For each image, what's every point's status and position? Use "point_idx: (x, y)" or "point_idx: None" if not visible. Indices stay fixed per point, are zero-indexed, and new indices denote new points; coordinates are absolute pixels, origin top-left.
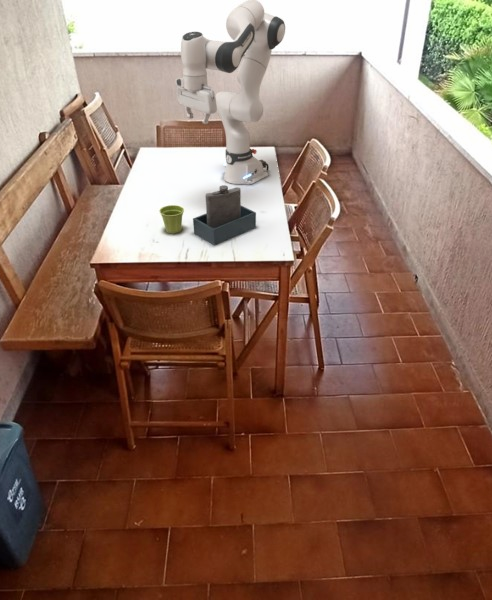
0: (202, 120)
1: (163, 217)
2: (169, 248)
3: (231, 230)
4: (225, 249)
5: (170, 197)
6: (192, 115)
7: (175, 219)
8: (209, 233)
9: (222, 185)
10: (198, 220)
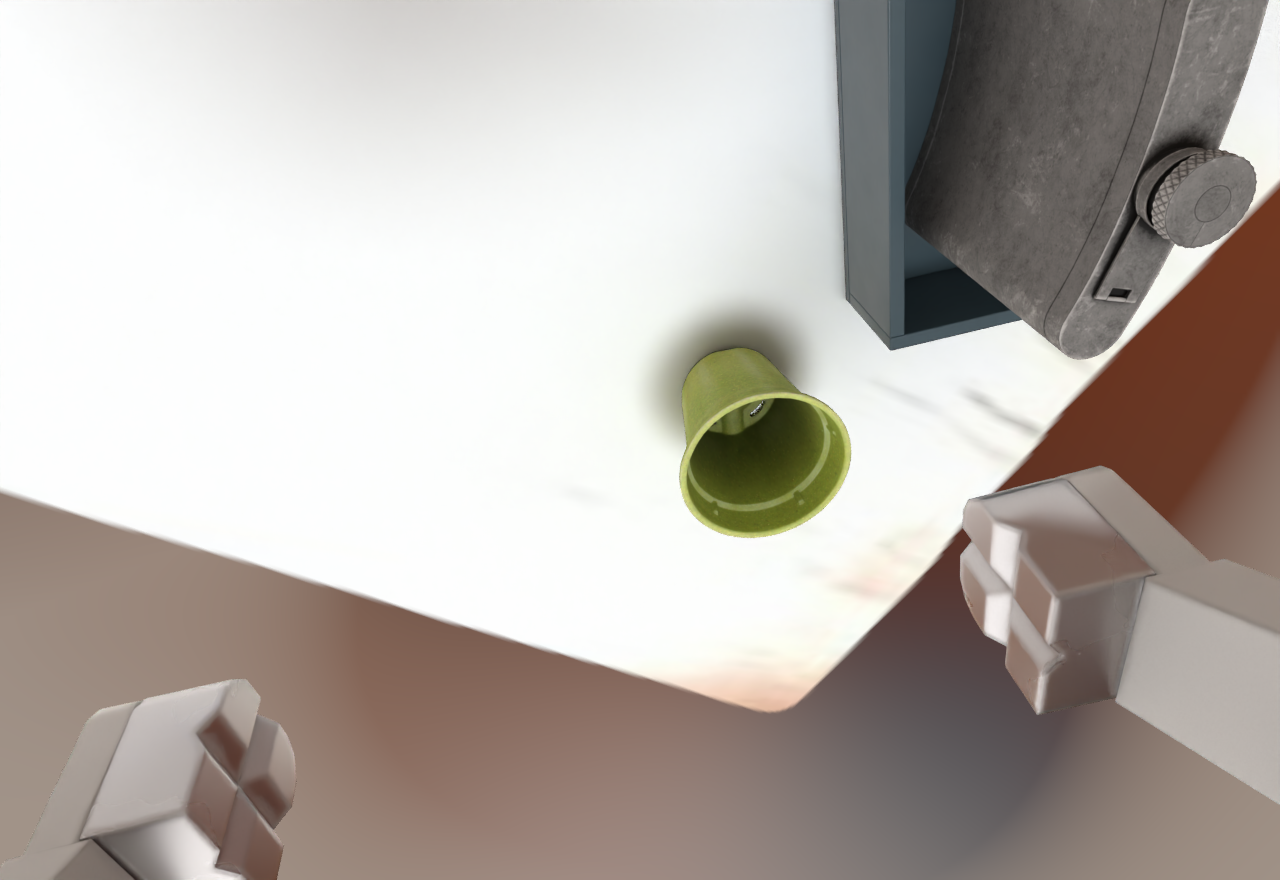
0: (1015, 669)
1: (767, 508)
2: (895, 469)
3: None
4: None
5: (174, 223)
6: (216, 763)
7: (821, 448)
8: None
9: (1173, 195)
10: (942, 330)
